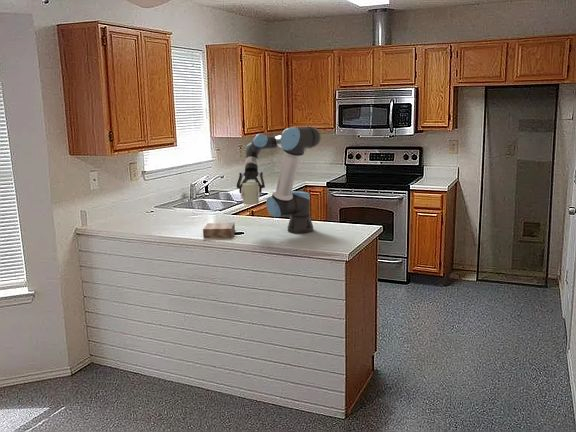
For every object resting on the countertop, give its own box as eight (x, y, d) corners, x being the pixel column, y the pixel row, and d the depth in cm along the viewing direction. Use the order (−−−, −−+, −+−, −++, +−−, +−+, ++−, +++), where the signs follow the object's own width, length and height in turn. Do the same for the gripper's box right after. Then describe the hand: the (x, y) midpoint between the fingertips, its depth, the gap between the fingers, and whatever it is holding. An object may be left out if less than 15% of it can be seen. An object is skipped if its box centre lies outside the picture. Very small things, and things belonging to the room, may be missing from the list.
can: (250, 201, 329) (249, 181, 327) (262, 202, 324) (261, 182, 321) (239, 203, 322) (238, 183, 320) (251, 205, 317) (250, 184, 314)
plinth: (234, 230, 334) (234, 222, 333) (231, 237, 318) (231, 228, 317) (208, 231, 334) (207, 223, 333) (203, 237, 318) (202, 229, 317)
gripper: (270, 169, 334) (269, 200, 322) (234, 170, 335) (232, 201, 322) (269, 161, 328) (268, 192, 316) (232, 162, 329) (230, 193, 316)
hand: (250, 197), depth 319 cm, fingers closed on can, 9 cm apart
